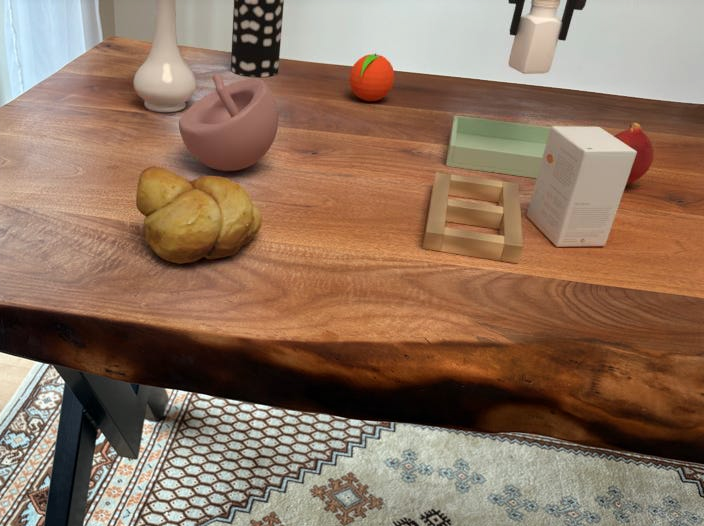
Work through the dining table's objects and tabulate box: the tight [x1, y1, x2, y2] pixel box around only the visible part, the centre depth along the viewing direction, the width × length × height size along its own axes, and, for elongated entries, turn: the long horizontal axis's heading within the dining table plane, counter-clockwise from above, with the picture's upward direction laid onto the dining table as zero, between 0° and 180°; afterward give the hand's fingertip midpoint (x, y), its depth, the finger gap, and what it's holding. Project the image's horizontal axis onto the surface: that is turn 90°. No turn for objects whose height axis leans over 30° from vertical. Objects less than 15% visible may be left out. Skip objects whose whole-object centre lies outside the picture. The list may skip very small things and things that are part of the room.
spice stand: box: [422, 171, 524, 265], centre depth 85 cm, size 10×17×2 cm, turn 164°
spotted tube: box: [230, 0, 285, 78], centre depth 128 cm, size 8×8×20 cm
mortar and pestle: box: [178, 72, 279, 172], centre depth 93 cm, size 12×12×12 cm
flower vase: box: [132, 0, 198, 113], centre depth 109 cm, size 13×18×25 cm
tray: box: [445, 114, 552, 179], centre depth 103 cm, size 15×13×3 cm
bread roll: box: [135, 165, 263, 264], centre depth 75 cm, size 13×10×8 cm
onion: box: [613, 122, 654, 185], centre depth 94 cm, size 6×6×8 cm
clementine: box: [349, 53, 395, 102], centre depth 120 cm, size 8×7×7 cm
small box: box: [526, 125, 637, 248], centre depth 82 cm, size 8×6×10 cm
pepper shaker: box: [508, 0, 562, 75], centre depth 94 cm, size 4×4×10 cm
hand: (537, 35), depth 94 cm, fingers closed on pepper shaker, 5 cm apart
